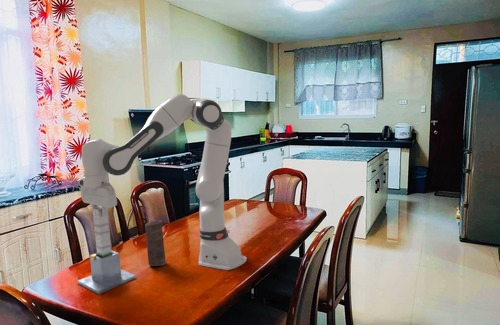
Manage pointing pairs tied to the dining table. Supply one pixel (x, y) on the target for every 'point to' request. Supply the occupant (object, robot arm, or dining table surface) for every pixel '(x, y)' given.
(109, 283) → the stand
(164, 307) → the dining table surface
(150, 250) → the grey upright block
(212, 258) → the robot arm
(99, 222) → the column
